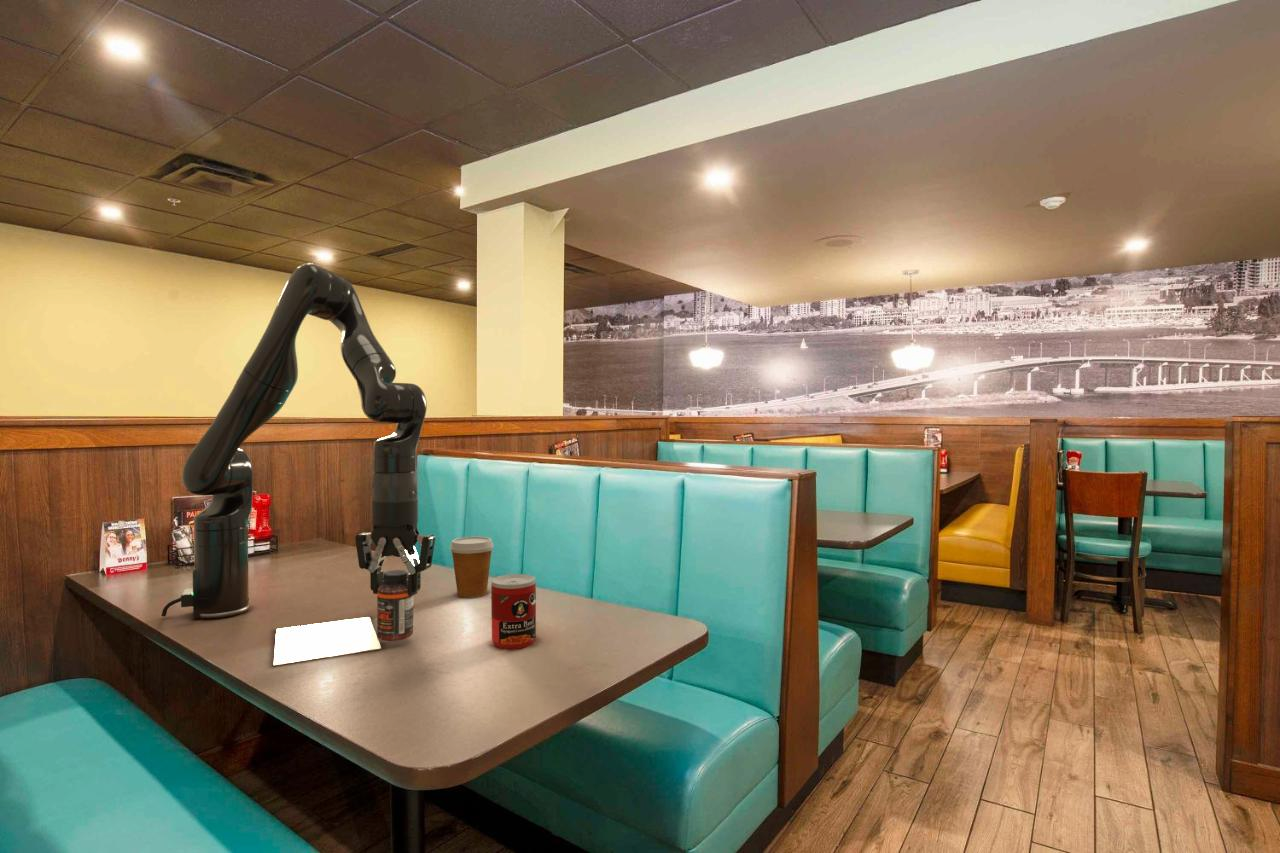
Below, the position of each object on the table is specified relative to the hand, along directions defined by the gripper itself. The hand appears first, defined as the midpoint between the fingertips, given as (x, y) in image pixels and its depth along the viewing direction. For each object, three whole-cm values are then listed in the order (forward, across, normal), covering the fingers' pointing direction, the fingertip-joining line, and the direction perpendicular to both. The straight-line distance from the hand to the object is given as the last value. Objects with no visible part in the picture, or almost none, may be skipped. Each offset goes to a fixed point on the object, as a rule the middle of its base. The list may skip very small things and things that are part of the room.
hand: (395, 593), depth 116 cm
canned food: (+9, -20, -3) cm, 22 cm away
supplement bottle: (+8, 0, 0) cm, 8 cm away
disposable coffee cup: (+9, -1, -32) cm, 33 cm away
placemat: (+9, +13, 0) cm, 16 cm away
